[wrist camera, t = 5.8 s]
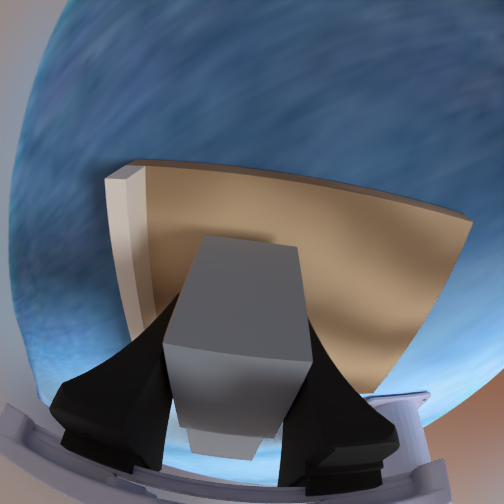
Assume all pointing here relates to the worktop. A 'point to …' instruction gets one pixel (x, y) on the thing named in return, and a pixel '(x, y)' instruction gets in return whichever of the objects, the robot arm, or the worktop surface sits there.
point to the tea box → (238, 338)
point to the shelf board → (314, 250)
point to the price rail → (131, 245)
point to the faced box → (223, 444)
